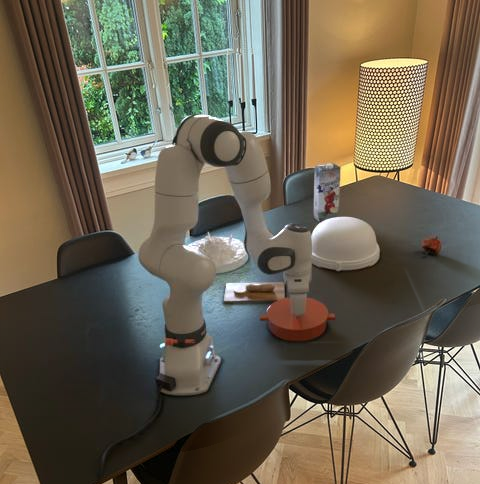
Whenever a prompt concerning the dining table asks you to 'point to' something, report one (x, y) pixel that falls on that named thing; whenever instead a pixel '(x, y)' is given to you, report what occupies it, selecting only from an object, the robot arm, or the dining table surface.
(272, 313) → the lid
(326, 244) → the dome cover
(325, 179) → the juice carton
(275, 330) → the pan
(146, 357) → the dining table surface
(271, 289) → the spoon
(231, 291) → the board
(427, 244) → the pomegranate
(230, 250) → the cake
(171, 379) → the robot arm
